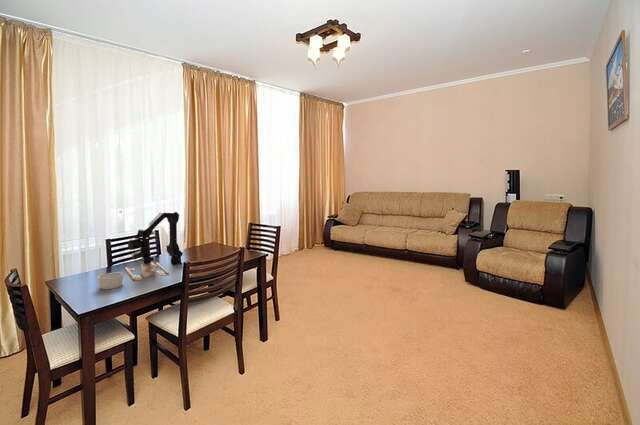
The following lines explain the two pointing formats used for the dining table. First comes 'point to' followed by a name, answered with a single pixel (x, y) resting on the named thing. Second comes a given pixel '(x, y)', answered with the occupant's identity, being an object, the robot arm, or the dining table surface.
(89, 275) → the dining table surface
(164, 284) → the dining table surface
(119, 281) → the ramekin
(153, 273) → the maple block
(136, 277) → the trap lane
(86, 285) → the dining table surface
